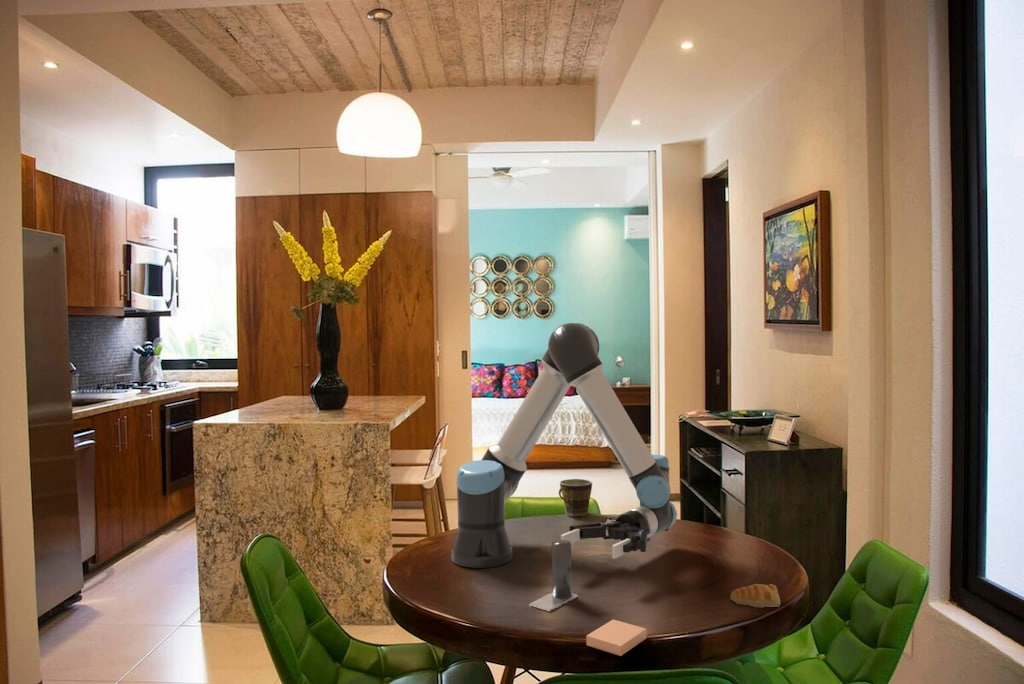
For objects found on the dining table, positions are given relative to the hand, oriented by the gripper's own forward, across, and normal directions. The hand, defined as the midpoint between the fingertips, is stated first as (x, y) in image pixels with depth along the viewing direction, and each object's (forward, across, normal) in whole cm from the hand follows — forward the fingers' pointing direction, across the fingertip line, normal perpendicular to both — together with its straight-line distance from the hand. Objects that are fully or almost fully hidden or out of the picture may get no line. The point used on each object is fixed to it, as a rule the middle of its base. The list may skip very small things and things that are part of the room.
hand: (586, 546), depth 154 cm
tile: (+17, -20, -8) cm, 27 cm away
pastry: (-12, -34, -9) cm, 37 cm away
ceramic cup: (-47, +37, -8) cm, 61 cm away
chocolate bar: (-50, +16, -9) cm, 53 cm away
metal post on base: (+13, 0, -8) cm, 15 cm away
